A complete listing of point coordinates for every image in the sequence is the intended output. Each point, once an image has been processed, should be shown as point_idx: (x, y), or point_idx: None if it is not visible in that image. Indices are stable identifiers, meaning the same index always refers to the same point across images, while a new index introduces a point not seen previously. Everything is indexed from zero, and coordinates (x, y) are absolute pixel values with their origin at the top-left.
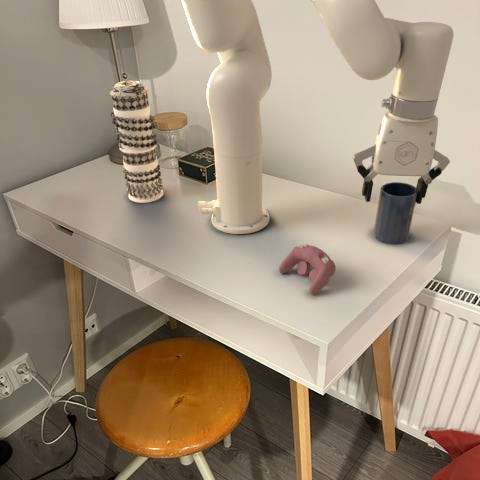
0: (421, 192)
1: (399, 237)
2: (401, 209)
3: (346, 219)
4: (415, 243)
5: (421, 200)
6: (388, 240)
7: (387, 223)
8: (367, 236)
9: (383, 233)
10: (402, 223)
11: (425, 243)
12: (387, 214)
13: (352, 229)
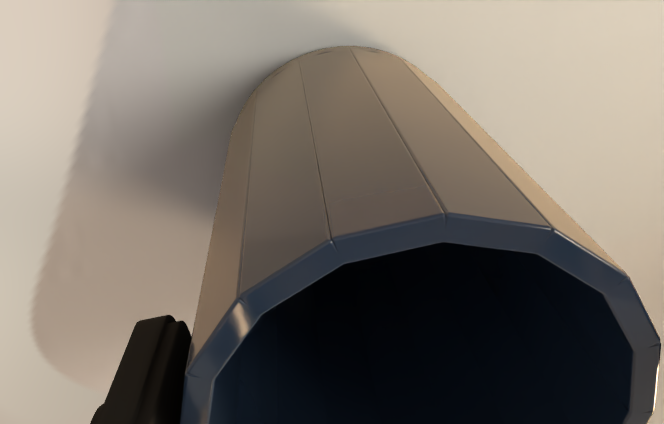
0: (126, 419)
1: (291, 74)
2: (345, 149)
3: None
4: (171, 102)
5: (129, 343)
6: (366, 51)
7: (426, 96)
8: (497, 119)
9: (419, 76)
10: (293, 108)
11: (103, 118)
12: (466, 130)
13: (586, 186)
